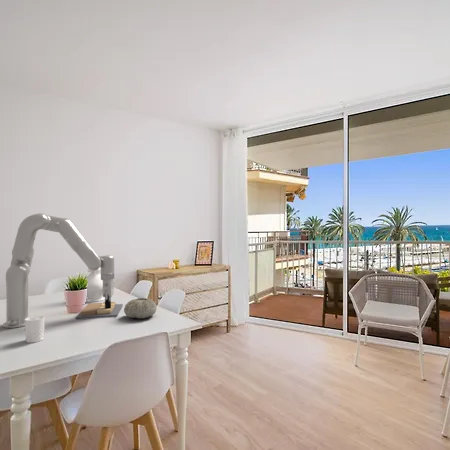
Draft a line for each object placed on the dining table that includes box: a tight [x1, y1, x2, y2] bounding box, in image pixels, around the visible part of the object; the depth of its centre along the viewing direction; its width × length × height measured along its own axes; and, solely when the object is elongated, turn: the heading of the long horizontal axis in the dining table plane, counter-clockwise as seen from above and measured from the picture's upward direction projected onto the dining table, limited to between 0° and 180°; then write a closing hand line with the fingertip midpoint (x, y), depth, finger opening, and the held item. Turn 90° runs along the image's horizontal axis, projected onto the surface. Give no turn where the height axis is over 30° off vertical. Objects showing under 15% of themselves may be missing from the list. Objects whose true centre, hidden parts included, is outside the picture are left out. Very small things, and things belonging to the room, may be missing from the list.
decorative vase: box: [86, 267, 105, 303], centre depth 223 cm, size 18×18×25 cm
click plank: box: [97, 301, 117, 314], centre depth 192 cm, size 20×8×2 cm, turn 11°
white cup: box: [24, 315, 46, 344], centre depth 143 cm, size 8×8×10 cm
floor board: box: [75, 302, 123, 320], centre depth 191 cm, size 26×22×3 cm
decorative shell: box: [123, 297, 157, 319], centre depth 180 cm, size 18×18×10 cm
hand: (107, 307), depth 187 cm, fingers closed
